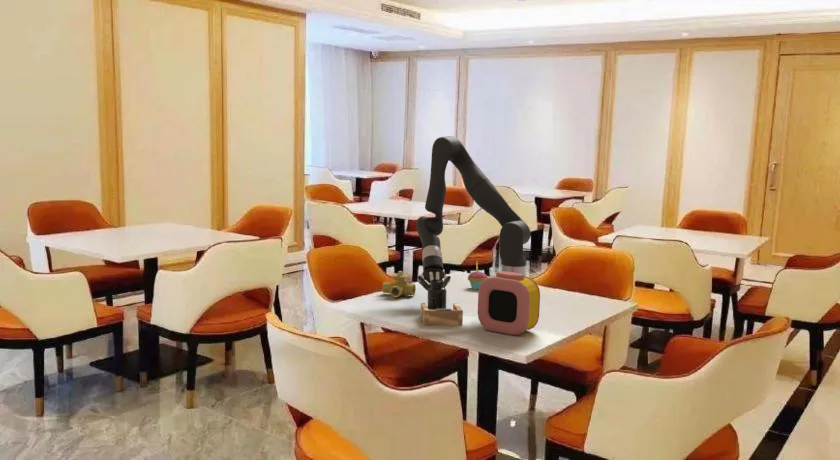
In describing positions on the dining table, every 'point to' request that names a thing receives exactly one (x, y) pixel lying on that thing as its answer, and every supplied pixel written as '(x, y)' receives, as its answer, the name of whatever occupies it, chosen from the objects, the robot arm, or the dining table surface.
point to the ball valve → (399, 286)
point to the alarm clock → (508, 303)
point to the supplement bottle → (437, 295)
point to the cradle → (442, 315)
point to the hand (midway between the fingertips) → (435, 298)
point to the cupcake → (476, 278)
